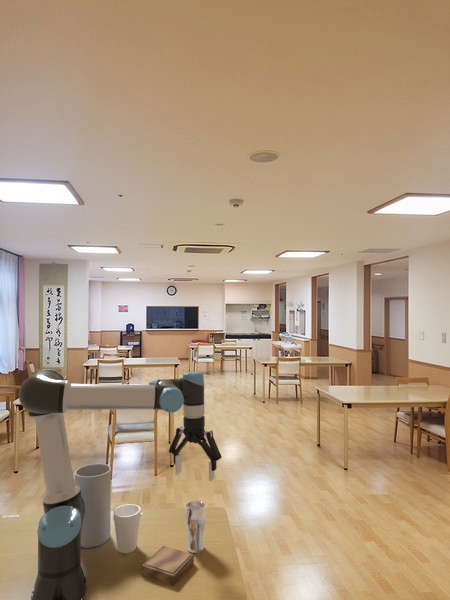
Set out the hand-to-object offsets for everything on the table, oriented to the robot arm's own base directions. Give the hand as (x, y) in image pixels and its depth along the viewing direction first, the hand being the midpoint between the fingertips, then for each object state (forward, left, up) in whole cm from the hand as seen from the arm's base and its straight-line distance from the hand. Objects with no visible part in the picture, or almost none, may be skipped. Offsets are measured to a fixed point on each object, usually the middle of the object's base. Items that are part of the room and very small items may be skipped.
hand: (194, 476), depth 145 cm
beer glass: (0, 0, -25) cm, 25 cm away
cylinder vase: (-37, -11, -25) cm, 46 cm away
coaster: (-2, -14, -25) cm, 29 cm away
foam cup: (-22, -10, -25) cm, 35 cm away
